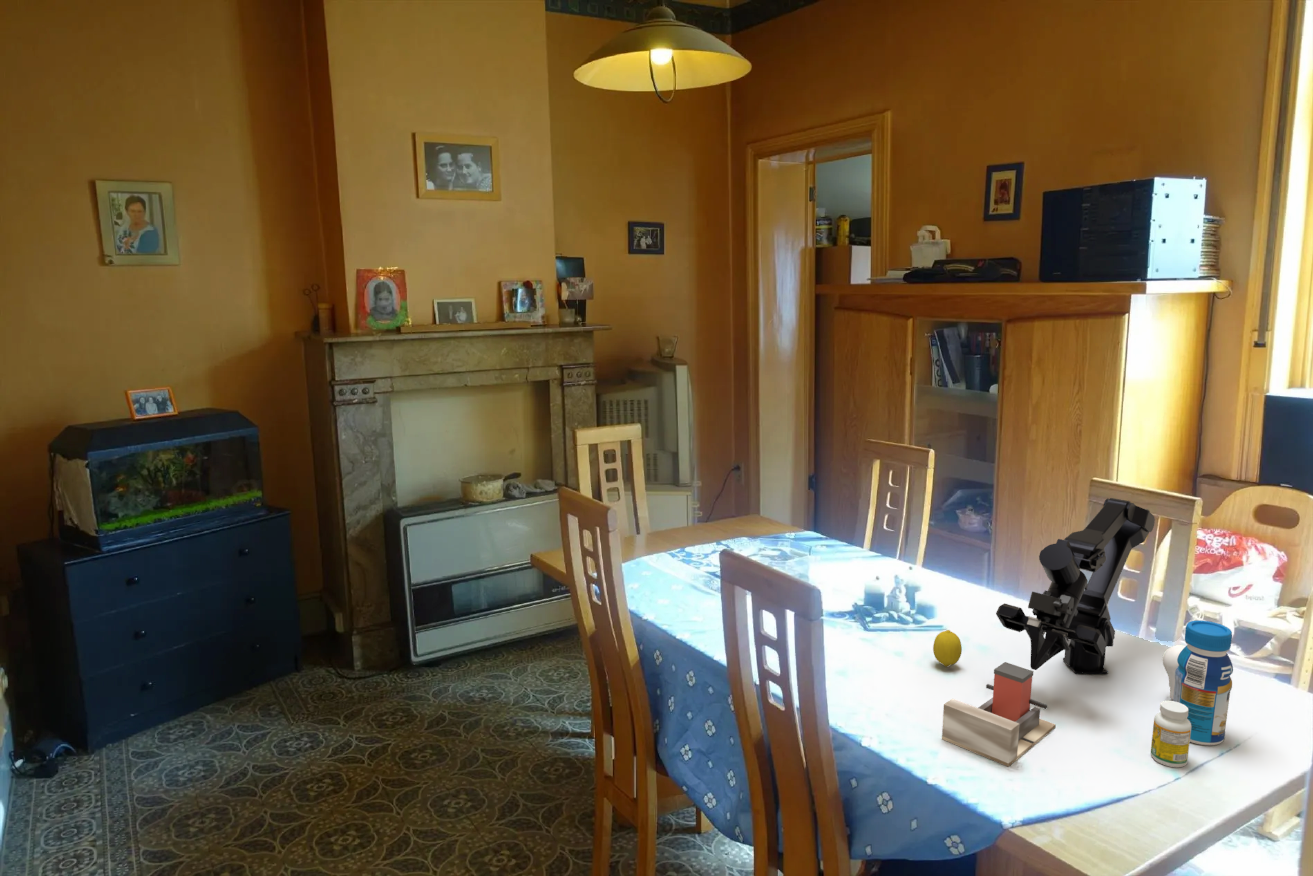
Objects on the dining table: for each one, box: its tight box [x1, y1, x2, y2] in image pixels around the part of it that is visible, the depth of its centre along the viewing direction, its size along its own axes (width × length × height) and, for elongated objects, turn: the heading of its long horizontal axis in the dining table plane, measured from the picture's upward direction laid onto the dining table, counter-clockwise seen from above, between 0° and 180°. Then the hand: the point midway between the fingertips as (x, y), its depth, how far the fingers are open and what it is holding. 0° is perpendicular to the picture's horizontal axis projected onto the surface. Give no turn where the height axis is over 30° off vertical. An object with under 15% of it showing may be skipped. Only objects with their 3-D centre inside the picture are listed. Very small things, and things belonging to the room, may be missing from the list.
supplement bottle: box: [1150, 700, 1191, 768], centre depth 145 cm, size 5×5×10 cm
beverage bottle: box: [1172, 619, 1234, 746], centre depth 152 cm, size 8×8×20 cm
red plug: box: [985, 661, 1048, 722], centre depth 156 cm, size 4×11×10 cm, turn 43°
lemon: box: [932, 629, 963, 668], centre depth 180 cm, size 6×6×8 cm
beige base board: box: [941, 697, 1056, 768], centre depth 154 cm, size 18×12×7 cm, turn 133°
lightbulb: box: [1161, 644, 1187, 700], centre depth 164 cm, size 6×6×11 cm
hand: (1033, 668), depth 161 cm, fingers closed
